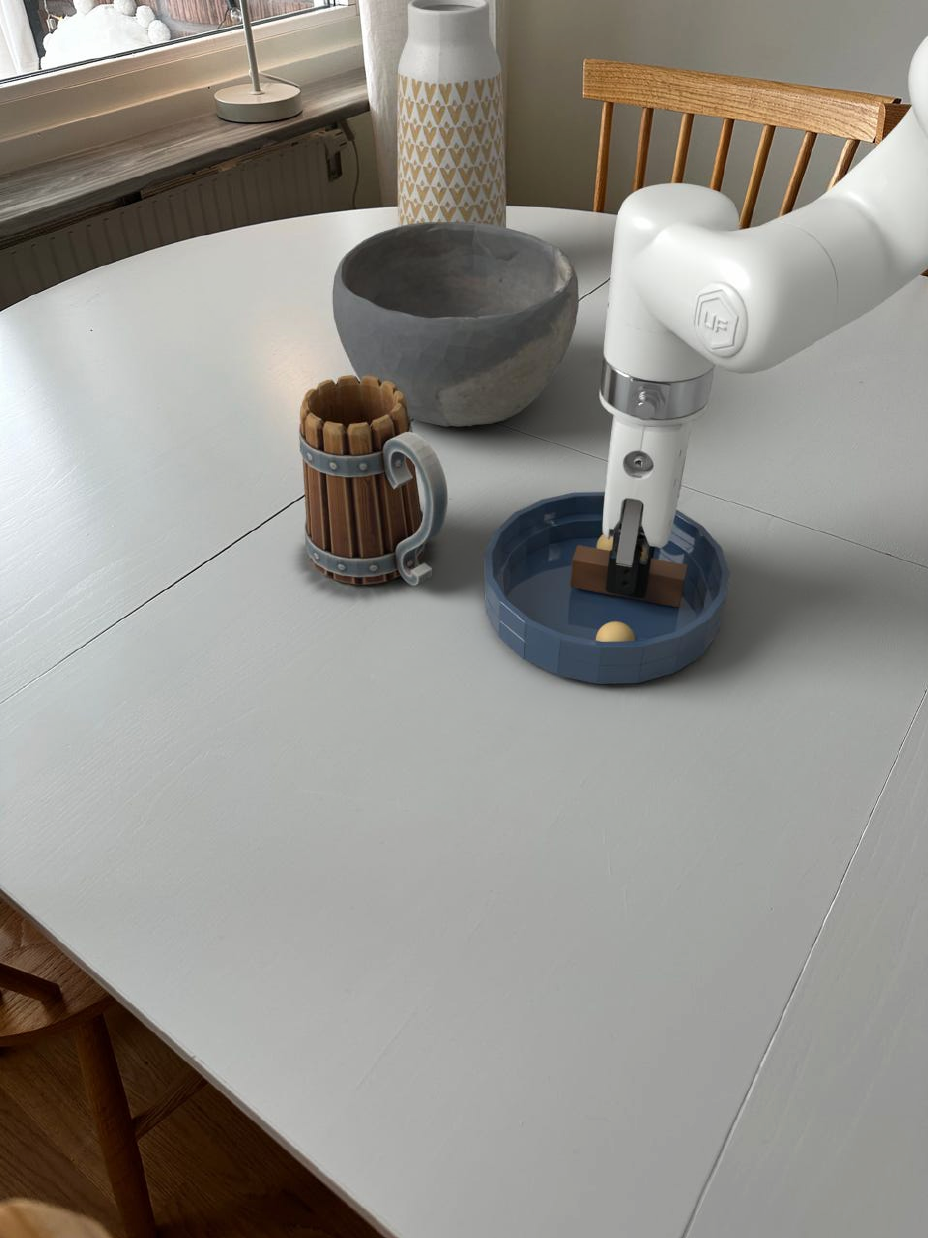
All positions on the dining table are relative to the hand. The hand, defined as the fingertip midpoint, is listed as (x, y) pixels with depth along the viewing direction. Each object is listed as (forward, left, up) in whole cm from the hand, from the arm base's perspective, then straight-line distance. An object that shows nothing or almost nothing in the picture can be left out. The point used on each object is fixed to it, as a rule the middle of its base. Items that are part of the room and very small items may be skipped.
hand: (628, 581), depth 80 cm
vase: (+33, -58, -2) cm, 67 cm away
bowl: (+23, -27, -2) cm, 35 cm away
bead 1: (+2, -4, 0) cm, 4 cm away
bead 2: (0, +7, 0) cm, 7 cm away
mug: (+21, +1, -2) cm, 21 cm away
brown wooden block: (0, 0, -1) cm, 1 cm away
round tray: (+2, +1, -2) cm, 3 cm away
